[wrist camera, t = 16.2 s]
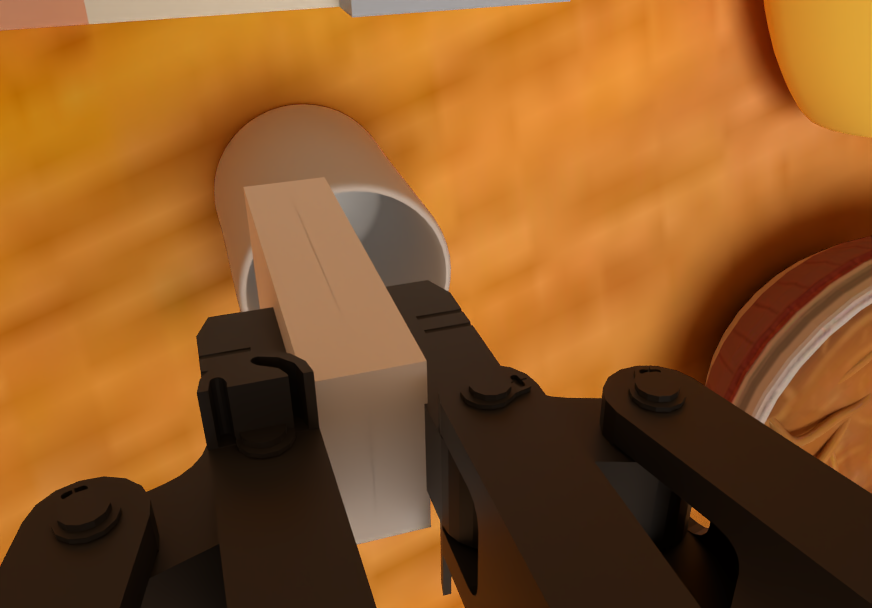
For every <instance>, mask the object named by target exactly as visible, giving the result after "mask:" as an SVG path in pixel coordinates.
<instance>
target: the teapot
mask: <svg viewBox="0 0 872 608" xmlns="http://www.w3.org/2000/svg"><path fill="white" fill-rule="evenodd" d="M764 9H765V14H766V19H767V24H768V29H769V33H770V38H771V41H772V45H773V49H774V53H775V56H776V58H777V61H778V64H779V67H780V70H781V72H782V75H783V77H784V80H785V82H786V84H787V87H788V89H789V91H790V93H791V95H792V97H793V99H794V100H795V102H796V104H797V106H798V108H799V109H800V110H801V112H802V113H803V114H804V115H805V116H806V117H807V118H808V119H809V120H811V121H812V122H813V123H815V124H817V125H819V126H821V127H824V128H827V129H829V130H832V131H837V132H841V133H845V134H850V135H855V136H862V137H869V138H872V0H764Z"/></svg>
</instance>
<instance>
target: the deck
mask: <svg viewBox="0 0 872 608" xmlns="http://www.w3.org/2000/svg"><path fill="white" fill-rule="evenodd" d="M564 1H570V0H0V30H15V29H29V28H43V27H57V26H71V25H85V24H100V23H114V22H128V21H142V20H156V19H170V18H185V17H199V16H213V15H227V14H241V13H256V12H270V11H284V10H298V9H312V8H326V7H341V8H342V9H343V10H344V11H345V12H347V13H348V14H349V15H350V16H351V17H362V16H376V15H389V14H403V13H416V12H430V11H443V10H457V9H470V8H484V7H497V6H510V5H524V4H537V3H551V2H564Z"/></svg>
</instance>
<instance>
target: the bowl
mask: <svg viewBox="0 0 872 608" xmlns="http://www.w3.org/2000/svg"><path fill="white" fill-rule="evenodd" d="M705 386H706V387H707V388H709V389H711V390H712V391H714V392H715V393H717V394H718V395H720V396H721V397H723V398H724V399H726V400H728V401H729V402H731V403H732V404H734V405H735V406H737V407H738V408H740V409H742V410H743V411H745V412H746V413H748V414H749V415H751V416H752V417H754V418H755V419H757V420H759V421H760V422H762V423H763V424H765V425H766V426H768V427H769V428H771V429H772V430H774V431H776V432H777V433H779V434H780V435H782V436H783V437H785V438H786V439H788V440H790V441H791V442H793V443H794V444H796V445H797V446H799V447H800V448H802V449H803V450H805V451H807V452H808V453H810V454H811V455H813V456H814V457H816V458H817V459H819V460H820V461H822V462H824V463H825V464H827V465H828V466H830V467H831V468H833V469H834V470H836V471H837V472H839V473H841V474H842V475H844V476H845V477H847V478H848V479H850V480H851V481H853V482H855V483H856V484H858V485H859V486H861V487H862V488H864V489H865V490H867V491H868V492H870V493H872V236H868V237H864V238H860V239H856V240H852V241H848V242H844V243H841V244H838V245H836V246H833V247H831V248H828V249H826V250H823V251H821V252H818V253H816V254H814V255H812V256H809V257H807V258H805V259H803V260H800V261H798V262H796V263H795V264H793V265H792V266H790V267H789V268H787V269H785V270H784V271H782V272H781V273H779V274H778V275H776V276H775V277H774V278H772V279H771V280H770V281H769V282H768V283H767V284H765V285H764V286H763V287H762V288H761V289H760V290H758V291H757V292H756V293H755V294H754V295H753V296H752V297H751V299H750V300H749V301H748V302H747V303H746V304H745V305H744V306H743V307H742V309H741V310H740V311H739V312H738V313H737V315H736V316H735V318H734V319H733V321H732V322H731V324H730V325H729V327H728V328H727V329H726V331H725V332H724V334H723V336H722V338H721V340H720V342H719V344H718V346H717V349H716V351H715V353H714V355H713V358H712V361H711V365H710V368H709V371H708V375H707V379H706V384H705Z"/></svg>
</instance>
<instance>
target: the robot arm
mask: <svg viewBox="0 0 872 608" xmlns="http://www.w3.org/2000/svg"><path fill="white" fill-rule="evenodd" d="M243 188H244V196H245V203H246V210H247V218H248V225H249V232H250V240H251V247H252V254H253V261H254V269H255V276H256V283H257V291H258V298H259V305H260V309H258V310H251V311H245V312H239V313H233V314H227V315H220V316H214V317H208V319H207V320H206V322H205V323H204V325H203V327H202V328H201V330H200V332H199V333H198V335H197V336H196V337H197V346H198V354H199V362H200V370H201V379H200V381H199V386H198V390H197V396H198V402H199V407H200V412H201V417H202V423H203V428H204V433H205V438H206V444H207V446H206V448H205V450H204V453H203V455H202V456H201V457H200V458H199V459H198V461H197V462H196V463H195V464H194V465H193V466H192V467H191V468H190V469H188V470H187V471H186V472H184V473H183V474H182V475H180V476H179V477H177V478H175V479H173V480H171V481H169V482H167V483H166V484H164V485H161V486H159V487H157V488H154V489H152V490H150V491H148V492H146V491H145V490H144V489H143V487H142V486H141V485H139V484H137V483H134V482H132V481H130V480H128V479H126V478H115V477H99V478H93V479H87V480H82V481H78V482H76V483H73V484H71V485H68V486H66V487H64V488H61V489H59V490H56V491H55V492H53V493H52V494H51V495H49V496H48V497H46V498H45V499H44V500H42V501H41V502H39V503H38V504H37V505H35V507H34V508H33V509H32V511H31V512H30V513H29V515H28V516H27V517H26V518H25V520H24V521H23V522H22V524H21V526H20V528H19V530H18V532H17V534H16V536H15V538H14V540H13V542H12V544H11V546H10V548H9V550H8V552H7V554H6V556H5V558H4V560H3V562H2V564H1V566H0V608H376V605H375V602H374V598H373V595H372V592H371V589H370V586H369V583H368V579H367V576H366V573H365V570H364V567H363V564H362V560H361V557H360V554H359V551H358V548H357V544H361V543H365V542H369V541H373V540H378V539H382V538H386V537H390V536H394V535H398V534H403V533H407V532H411V531H415V530H419V529H424V528H428V527H431V520H430V499H431V501H432V503H433V505H434V508H435V510H436V512H437V514H438V517H439V519H440V530H441V583H442V590H443V595H447V594H451V577H452V578H453V580H454V583H455V585H456V587H457V590H458V592H459V594H460V597H461V599H462V601H463V604H464V606H465V608H872V493H870V492H868V491H867V490H865V489H864V488H862V487H861V486H859V485H858V484H856V483H855V482H853V481H851V480H850V479H848V478H847V477H845V476H844V475H842V474H841V473H839V472H837V471H836V470H834V469H833V468H831V467H830V466H828V465H827V464H825V463H824V462H822V461H820V460H819V459H817V458H816V457H814V456H813V455H811V454H810V453H808V452H807V451H805V450H803V449H802V448H800V447H799V446H797V445H796V444H794V443H793V442H791V441H790V440H788V439H786V438H785V437H783V436H782V435H780V434H779V433H777V432H776V431H774V430H772V429H771V428H769V427H768V426H766V425H765V424H763V423H762V422H760V421H759V420H757V419H755V418H754V417H752V416H751V415H749V414H748V413H746V412H745V411H743V410H742V409H740V408H738V407H737V406H735V405H734V404H732V403H731V402H729V401H728V400H726V399H724V398H723V397H721V396H720V395H718V394H717V393H715V392H714V391H712V390H711V389H709V388H707V387H706V386H704V385H703V384H701V383H700V382H698V381H697V380H695V379H694V378H691V377H689V376H687V375H685V374H683V373H681V372H679V371H677V370H672V369H668V368H663V367H659V366H634V367H630V368H626V369H621V370H619V371H618V372H616V373H614V374H613V375H611V376H610V377H608V379H607V381H606V383H605V385H604V387H603V393H602V398H562V397H551V396H547V395H545V393H544V392H543V391H542V389H541V388H540V386H539V385H538V384H537V383H536V382H535V381H534V380H533V379H532V378H530V377H529V376H528V375H527V374H525V373H523V372H520V371H518V370H516V369H513V368H511V367H505V366H500V364H499V363H498V361H497V360H496V359H495V357H494V356H493V354H492V353H491V351H490V350H489V348H488V347H487V346H486V344H485V343H484V341H483V340H482V338H481V337H480V335H479V334H478V332H477V331H476V330H475V328H474V327H473V325H472V326H471V324H470V321H469V319H468V318H467V317H466V315H465V314H464V312H462V311H461V308H460V306H459V305H458V303H457V302H456V301H455V299H454V298H453V296H452V295H451V293H450V292H448V291H447V290H445V289H443V288H441V287H439V286H438V285H436V284H434V283H432V282H431V281H429V280H424V281H418V282H412V283H406V284H399V285H393V286H387V287H385V285H384V283H383V281H382V280H381V278H380V276H379V274H378V272H377V271H376V269H375V267H374V265H373V263H372V262H371V260H370V258H369V256H368V254H367V253H366V251H365V249H364V247H363V245H362V244H361V242H360V240H359V238H358V236H357V235H356V233H355V231H354V229H353V227H352V226H351V224H350V222H349V220H348V218H347V217H346V215H345V213H344V211H343V210H342V208H341V206H340V204H339V202H338V201H337V199H336V197H335V195H334V193H333V192H332V190H331V188H330V186H329V184H328V183H327V181H326V179H325V177H321V178H312V179H304V180H296V181H288V182H280V183H272V184H264V185H256V186H247V187H243ZM691 507H693V508H694V509H696V510H697V511H698V512H699V513H700V514H702V515H703V516H704V517H705V518H707V519H708V520H709V521H710V526H709V528H705V527H703V526H702V525H700V524H698V523H697V522H696V521H695V520H693V519H692V518H691V517H690V512H691Z"/></svg>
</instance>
